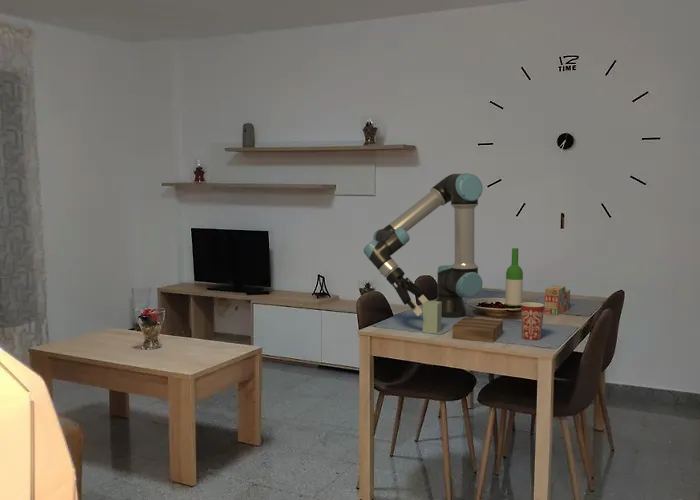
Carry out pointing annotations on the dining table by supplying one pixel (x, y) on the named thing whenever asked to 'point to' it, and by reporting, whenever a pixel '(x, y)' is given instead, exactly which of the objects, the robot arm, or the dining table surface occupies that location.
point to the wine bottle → (514, 282)
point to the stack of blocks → (556, 300)
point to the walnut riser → (477, 329)
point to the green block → (432, 316)
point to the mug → (532, 320)
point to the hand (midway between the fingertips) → (425, 311)
